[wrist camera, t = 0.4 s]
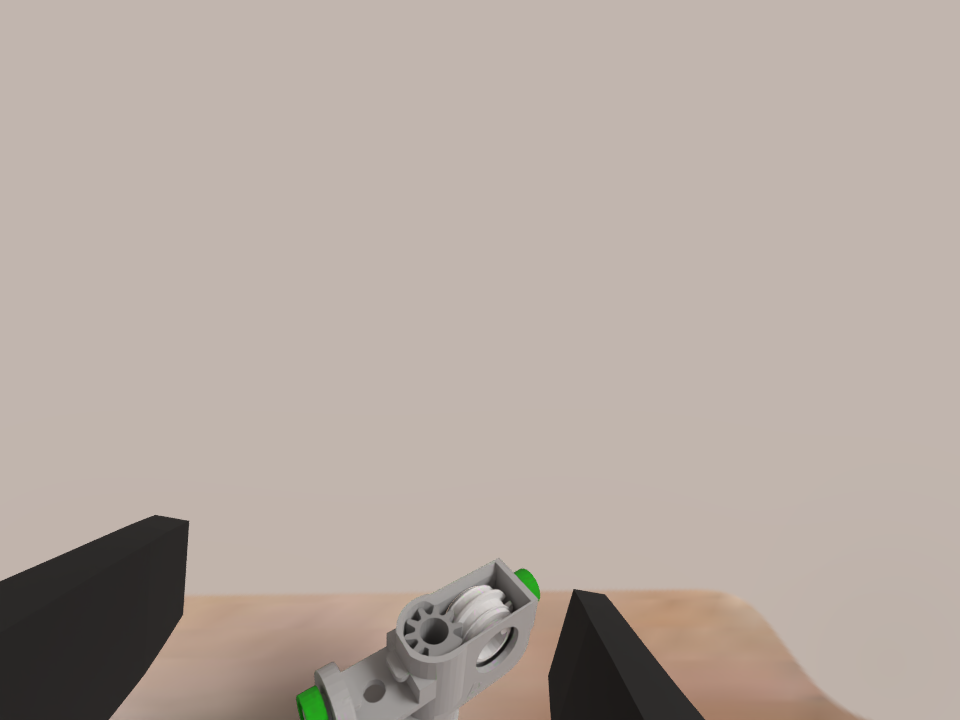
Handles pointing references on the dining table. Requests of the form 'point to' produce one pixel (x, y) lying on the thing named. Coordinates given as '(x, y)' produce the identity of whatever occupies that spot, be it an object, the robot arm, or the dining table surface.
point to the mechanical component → (434, 652)
